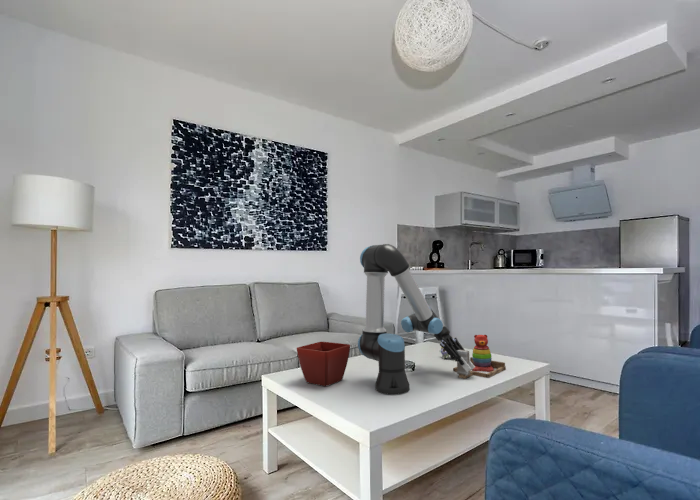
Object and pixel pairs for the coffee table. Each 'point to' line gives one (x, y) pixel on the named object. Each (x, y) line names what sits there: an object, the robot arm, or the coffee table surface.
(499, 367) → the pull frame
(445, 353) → the passion flower
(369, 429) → the coffee table surface
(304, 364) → the plant pot
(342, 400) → the coffee table surface
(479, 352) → the stacking bear
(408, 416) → the coffee table surface
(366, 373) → the coffee table surface
